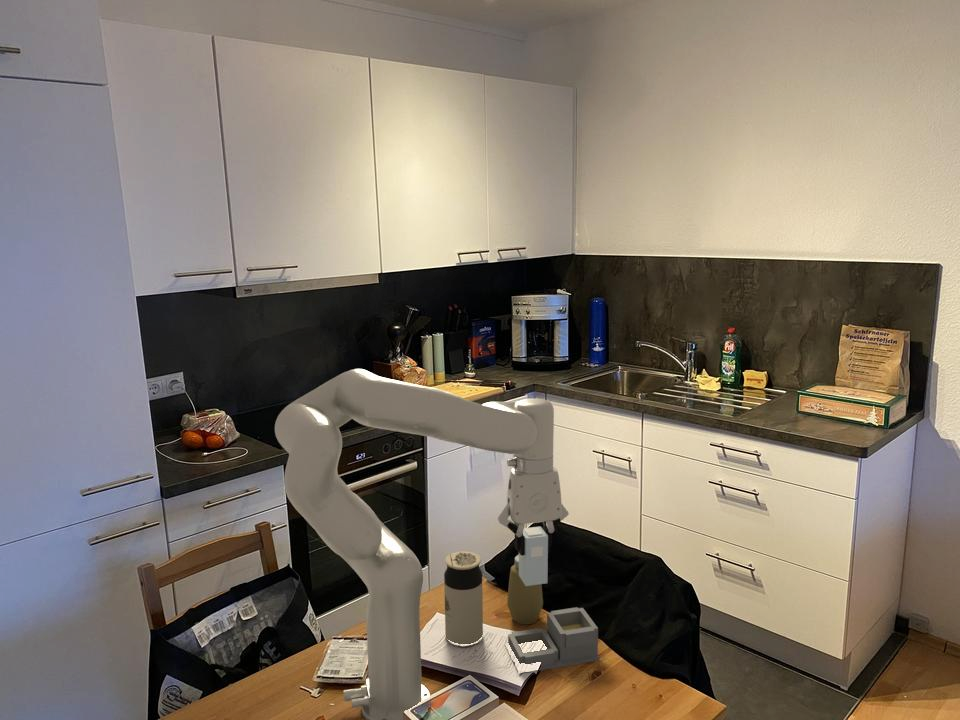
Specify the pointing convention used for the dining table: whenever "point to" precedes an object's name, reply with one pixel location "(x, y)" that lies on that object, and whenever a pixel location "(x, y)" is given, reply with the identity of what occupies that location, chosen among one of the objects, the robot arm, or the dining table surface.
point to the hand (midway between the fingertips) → (533, 550)
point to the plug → (534, 557)
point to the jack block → (560, 640)
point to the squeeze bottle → (523, 598)
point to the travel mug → (463, 598)
